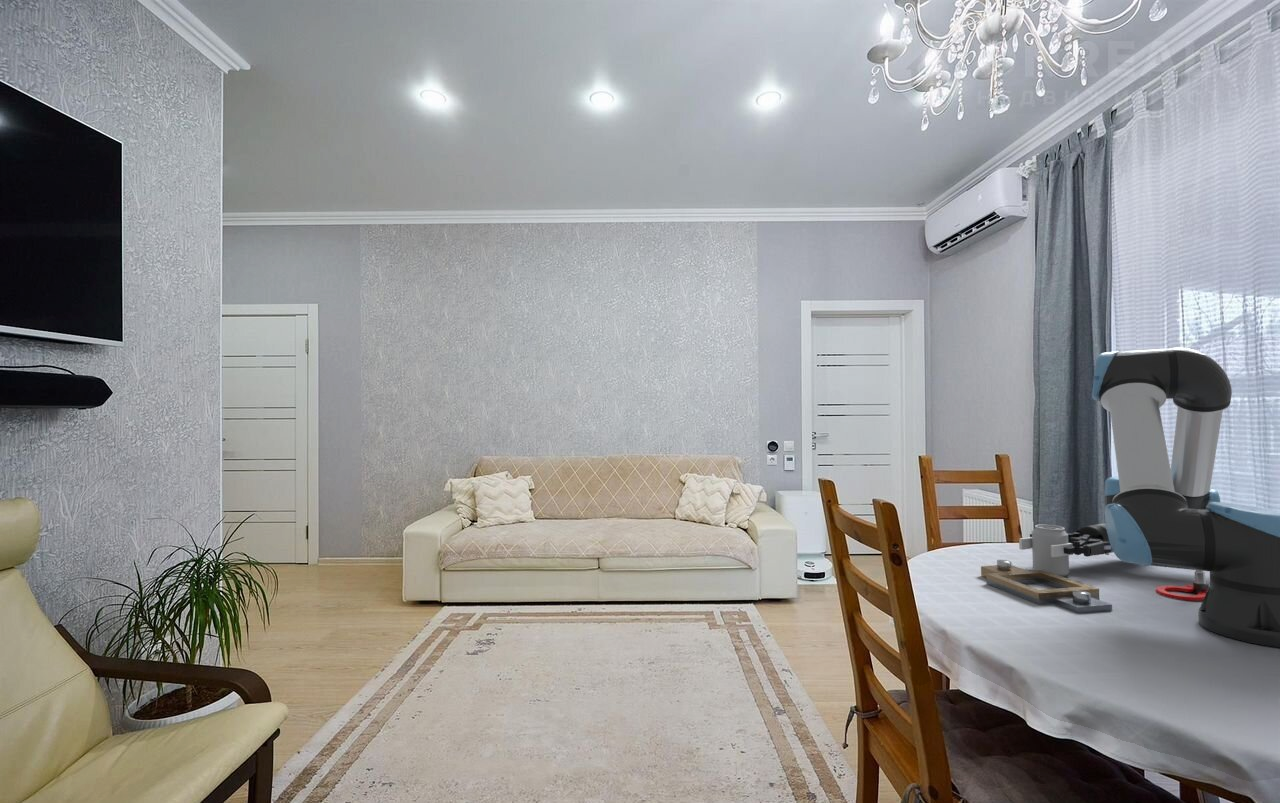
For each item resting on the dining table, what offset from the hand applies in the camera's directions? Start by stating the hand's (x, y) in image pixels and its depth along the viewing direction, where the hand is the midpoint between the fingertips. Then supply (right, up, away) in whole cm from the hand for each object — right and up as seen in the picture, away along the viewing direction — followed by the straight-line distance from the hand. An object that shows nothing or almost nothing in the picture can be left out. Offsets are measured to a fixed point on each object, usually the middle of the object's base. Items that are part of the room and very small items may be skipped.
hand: (1036, 547), depth 144 cm
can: (+5, -7, +1) cm, 9 cm away
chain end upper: (-8, -7, -9) cm, 14 cm away
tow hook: (+22, -7, -16) cm, 28 cm away
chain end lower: (-7, -7, -15) cm, 18 cm away
